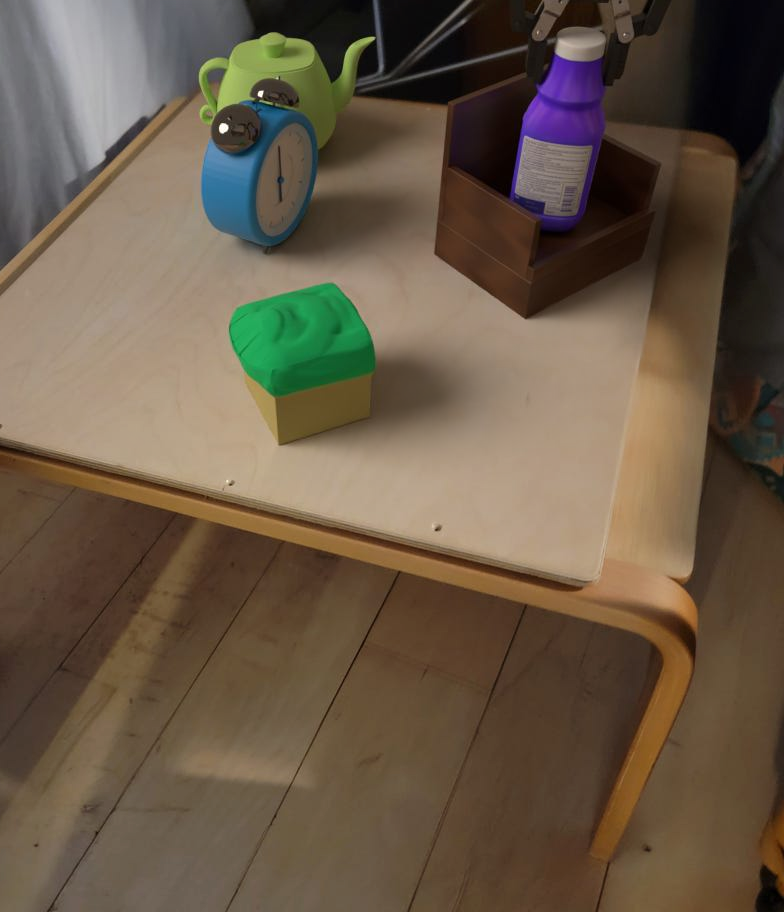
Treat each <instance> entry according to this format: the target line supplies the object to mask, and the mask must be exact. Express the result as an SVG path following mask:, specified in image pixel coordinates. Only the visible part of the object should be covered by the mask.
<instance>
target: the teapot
mask: <svg viewBox="0 0 784 912" xmlns="http://www.w3.org/2000/svg"><path fill="white" fill-rule="evenodd" d="M375 40H376V36H368V37H364V38H361V39H358V40H356V41H355V42H353V43H351V45H349V47H348V49H347V50H346V52H345V55H344V59H343V66H342V71H341V74H340V75H339V77H337V78H336V80H335V81H333V82H331V78H330V76H329V74H328V72H327V69H326V67H325V65H324V63H323V61H322V59H321V57H320V55H319V53H318V51H317V50H316V47H315V46H314V44H312V43H311V42H310V41H308V40H305V39H300V38H293V37H286V36H285V35H283V34H281V33H279V32H275V31H274V32H269V33H267V34H264V35H262V36H261V37H259V38H258V39H257V38H256V39H251V40H246V41H244V42H240V43H239V44H237V45H236V46H235V47H233V50H232V52H231V54H230V55H229V59H228V58H226V57H214V58H211V59H209V60H207V61H206V62H205V63H203V65H202V66H201V67H200V69H199V72H198V83H199V86H200V89H201V92H202V94H203V96H204V98H205V100H206V102H207V104H204V105H203V106H202V107H200V110H199V118H200V121H201V122H202V123H203V124H204V125H205V126H209V127H211V124H212V121H213V119H214V117H215V115H216V114H217V113H218V112H219V111H220V110H221V109H222V108H224V107H226V106H228V105H230V104H237V103H239V102H241V101H244V100H254V99H255V98H252V97H249V95H250V91H251V88H252V87H253V85H254V84H255V83H256V82H258V81H259V80H262V79H265V78H275V79H276V78H277V75H278V76H281V77H280V80H283V81H286V82H288V83H289V84H291V85H292V86H293V87H294V88H295V89H296V91H297V93H298V95H299V108H295V107H290V106H285V105H280V104H276V103H275V106H278V107H282V108H286V109H290V110H294V111H298V112H300V113H302V114H304V115H305V116H306V117H307V118H308V119H309V120H310V122H311V123H312V125H313V127H314V130H315V134H316V138H317V145H318V151H319V150H320V149H322V148H323V147H324V146H325V145H326V144H327V143H328V141H329V140H330V138H331V136H332V135H333V133H334V131H335V127H336V124H337V115H339V114H340V113H341V112H342V111H344V110H345V109H346V108H347V107H348V105H349V104H350V103H351V100H352V98H353V96H354V93H355V89H356V83H357V71H358V65H359V60H360V57H361V55H362V53H363V52H364V50H365V49H366V48H367V47H368V46H369V45H371V44H372V43H373V42H374V41H375ZM215 69H224V72H223V75H222V77H221V81H220V84H219V88H218V95H217V99H216V97H215V95H214V93H213V92H212V91H213V90H212V89H211V87H210V84H209V80H208V73H209V72H210V71H212V70H215ZM259 102H262V103H266V104H270V105H272V103H271V102H267V101H263V100H260V101H259ZM209 111H210V112H212V116H210V115H208V114H207V112H209Z"/></svg>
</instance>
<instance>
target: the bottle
mask: <svg viewBox="0 0 784 912" xmlns="http://www.w3.org/2000/svg"><path fill="white" fill-rule="evenodd" d="M606 43H607V36H606V35H605V34H604V32H601V31H600V30H597V29H595V28H591V27H586V26H569V27H564V28H562V29H561V30H559V31H558V32H557V33H556V36H555V41H554V45H553V50H552V53H551V57H550V61H549V65H548V67H547V69H546V71H545V72H544V74H543V75H542V80H541V84H537V89H538V94H537V96H536V97H535V98H534V99H533V101H532V102H531V104H530V105H529V107H528V109H527V111H526V112H525V114H524V117H523V125H522V130H521V136H520V142H519V147H518V153H517V159H516V165H515V171H514V177H513V182H512V188H511V194H510V198H509V199H510V200H512V201H513V202H515V203H517V204H518V205H520V206H521V207H523V208H525V209H526V210H528V211H529V212H531V213H533V214H534V215H536V216H538V217H539V218H541V219H542V224H541V229H540V230H545V231H554V232H564V231H569V230H570V229H572V228H573V227H574V226H575V225H576V224H577V223H578V222H579V221H580V219H581V217H582V215H583V214H584V212H585V208H586V202H587V198H588V194H589V190H590V186H591V182H592V178H593V174H594V169H595V165H596V161H597V157H598V152H599V148H600V144H601V140H602V136H603V133H604V134H605V131H606V128H607V123H606V117H605V112H604V108H603V105H602V101H601V100H602V99H603V98H604V96H605V95H606V92H607V86H604V82H603V77H602V72H603V65H604V63H603V62H604V55H605V51H606V50H605V49H606Z"/></svg>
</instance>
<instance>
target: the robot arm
mask: <svg viewBox="0 0 784 912" xmlns="http://www.w3.org/2000/svg"><path fill="white" fill-rule="evenodd" d="M525 1H526V0H508V3H509V21H510V29H511V32H513V33H516V34H519V33H521V34H524V35H526V36H527V37H528V41H527V48H526V55H525V62H524V67H525V72H526V74H527V77H531V78H532V84H541V80H542V74H543V68H544V65H545V62H546V55H547V50H548V43H549V40H548V35H549V33H550V31H551V29H552V28H553V26H554V24H555V23H556V20H557V19H558V18H559V17H560V16H562V14H563V12H564V10H565V8H566V7H567V5H568V4H569V3H578V4H579V3H582V2H587V1H588V0H541V2H540V3H539V5H538V7H537V9H536V10H535V13H533V12H530V11H527V10H526V2H525ZM590 1H591V2H594V3H596V4H597V3H598V4H610V5H611V11H612V16H613V21H614V30H613V32H610V34H609V39H608V43H607V48H606V53H605V58H604V61H603V62H604V63H603V66H602V77H603V82H604V86H605V87H613V86H614V82H615V80H620V79H622V76H623V75H624V72H625V69H626V68H625V67H626V64H627V58H628V54H629V51H630V46H631V43H632V42H633V40H635V39H636V38H638V37H642V36H647V37H652V36H654V35H656V34H657V33H658V31H659V29H660V27H661V24H662V22H663V20H664V18H665V16H666V14H667V12H668V9H669V7H670V5H671V3H672V0H645V2H644V3H643V7H642V9H641V11H640V13H637V14H634V15H631V7H630V3H629V0H590ZM609 2H610V3H609Z"/></svg>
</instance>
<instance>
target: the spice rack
mask: <svg viewBox="0 0 784 912" xmlns="http://www.w3.org/2000/svg"><path fill="white" fill-rule="evenodd" d="M549 63H550V62H549ZM549 63H546V64H544V68H543V74H544V72H545V71H546V69H547V67H548V65H549ZM543 74H542V75H543ZM537 94H538V89H537V84H532V78H531V77H527V74H526V71H525V72H522V73H520V74H517V75H515V76H512V77H510V78H508V79H504V80H501V81H499V82H496V83H494V84H492V85H489V86H487V87H484V88H481V89H479V90H476V91H473V92H470V93H468V94H465V95H462V96H460V97H457V98H455V99H453V100H450V101H448V102H447V111H446V120H445V121H446V122H445V132H444V141H443V155H442V164H441V165H442V166H441V175H440V184H439V185H440V186H439V197H438V206H437V207H438V208H437V220H436V230H435V241H434V251H433V255H435V256H436V257H438V258H439V259H440V260H442V261H444V262H445V263H446V264H447V265H449V266H450V267H451V268H453V269H454V270H456V271H457V272H459V273H460V274H462V275H463V276H464V277H465V278H467V279H469V280H470V281H471V282H473V283H474V284H475V285H477V286H478V287H479V288H481V289H482V290H484V291H485V292H487V293H488V294H490V295H491V296H492V297H494V298H495V299H496V300H498V301H499V302H501V303H502V304H503V305H505V306H506V307H508V308H509V309H511V311H513V312H514V313H516V314H517V315H519V316H520V317H521V318H523V319H525V320H526V319H528V318H529V317H531V316H534V315H535V314H538V313H539V312H541V311H543V310H545V309H547V308H548V307H549V308H550V307H551V306H553V305H554V304H557V303H558V302H560V301H563V300H564V299H566V298H568V297H570V296H572V295H574V294H575V293H577V292H579V291H581V290H583V289H585V288H587V287H589V286H591V285H593V284H594V283H596V282H599V281H600V280H602V279H604V278H606V277H608V276H610V275H612V274H613V273H615V272H618V271H620V270H621V269H623V268H625V267H627V266H629V265H631V264H633V263H635V262H636V261H638V260H640V259H642V258H643V255H644V252H645V248H646V245H647V241H648V238H649V235H650V231H651V229H652V225H653V221H654V218H655V215H656V212H657V209H655V208H653V207H652V206H650V205H651V202H652V200H653V199H652V198H653V195H654V191H655V189H656V186H657V185H656V184H657V180H658V178H659V174H660V171H661V167H662V164H663V163H662V162H660V161H658V160H656V159H654V158H653V157H651V156H649V155H647V154H644V153H643V152H641V151H639V150H637V149H635V148H633V147H631V146H629V145H627V144H625V143H623V142H621V141H620V140H618V139H615V138H614V137H612V136H610V135H608V134H606V133H605V132H604V133H603V136H602V140H601V144H600V148H599V152H598V157H597V161H596V165H595V169H594V174H593V178H592V182H591V186H590V190H589V194H588V198H587V202H586V208H585V212H584V214H583V215H582V217H581V219H580V221H579V222H578V223H577V224H576V225H575V226H574V227H573V228H572V229H570V230H569V231H564V232H554V231H545V230H540V229H541V224H542V219H541V218H539V217H538V216H536V215H534V214H533V213H531V212H529V211H528V210H526V209H525V208H523V207H521V206H520V205H518V204H517V203H515V202H513V201H512V200H510V199H509V198H510V194H511V188H512V182H513V177H514V171H515V165H516V159H517V153H518V147H519V142H520V136H521V130H522V125H523V117H524V114H525V112H526V111H527V109H528V107H529V105H530V104H531V102H532V101H533V99H534V98H535V97H536V96H537Z"/></svg>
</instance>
